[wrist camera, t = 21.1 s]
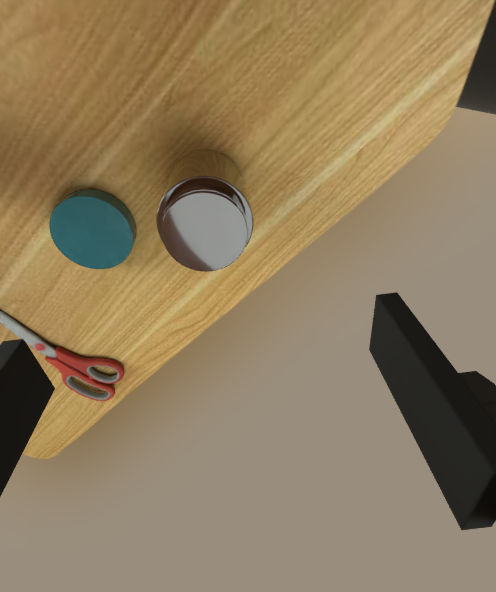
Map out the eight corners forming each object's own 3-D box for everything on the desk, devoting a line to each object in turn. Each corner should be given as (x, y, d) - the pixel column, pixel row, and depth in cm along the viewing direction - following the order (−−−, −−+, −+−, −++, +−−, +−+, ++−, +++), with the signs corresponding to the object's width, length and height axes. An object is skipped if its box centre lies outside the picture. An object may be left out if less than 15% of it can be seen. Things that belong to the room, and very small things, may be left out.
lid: (76, 172, 33) (68, 178, 31) (150, 217, 36) (147, 225, 34) (45, 234, 36) (37, 243, 34) (116, 271, 39) (111, 281, 37)
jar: (257, 169, 34) (273, 208, 25) (227, 235, 38) (231, 289, 29) (182, 135, 32) (171, 165, 23) (158, 209, 35) (141, 259, 27)
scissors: (-29, 289, 39) (-37, 297, 38) (136, 368, 48) (134, 376, 47) (-52, 331, 42) (-60, 339, 40) (107, 398, 51) (105, 406, 49)
